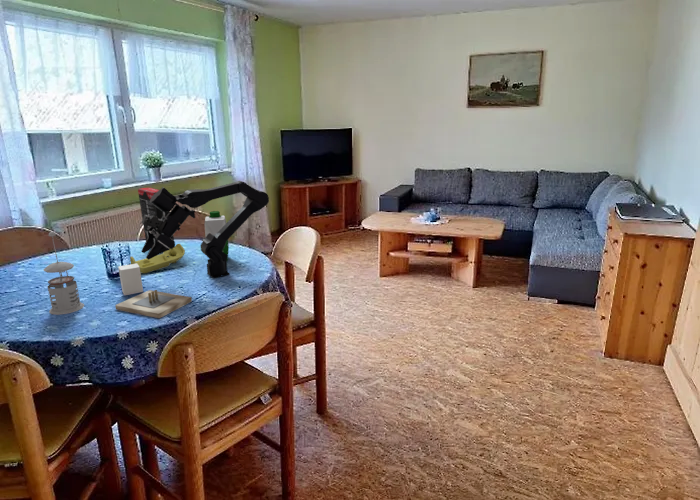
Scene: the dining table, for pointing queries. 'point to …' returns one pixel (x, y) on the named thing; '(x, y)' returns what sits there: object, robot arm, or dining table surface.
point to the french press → (62, 288)
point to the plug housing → (130, 279)
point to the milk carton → (215, 226)
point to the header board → (153, 303)
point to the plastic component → (160, 259)
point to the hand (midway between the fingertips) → (144, 255)
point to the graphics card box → (149, 206)
